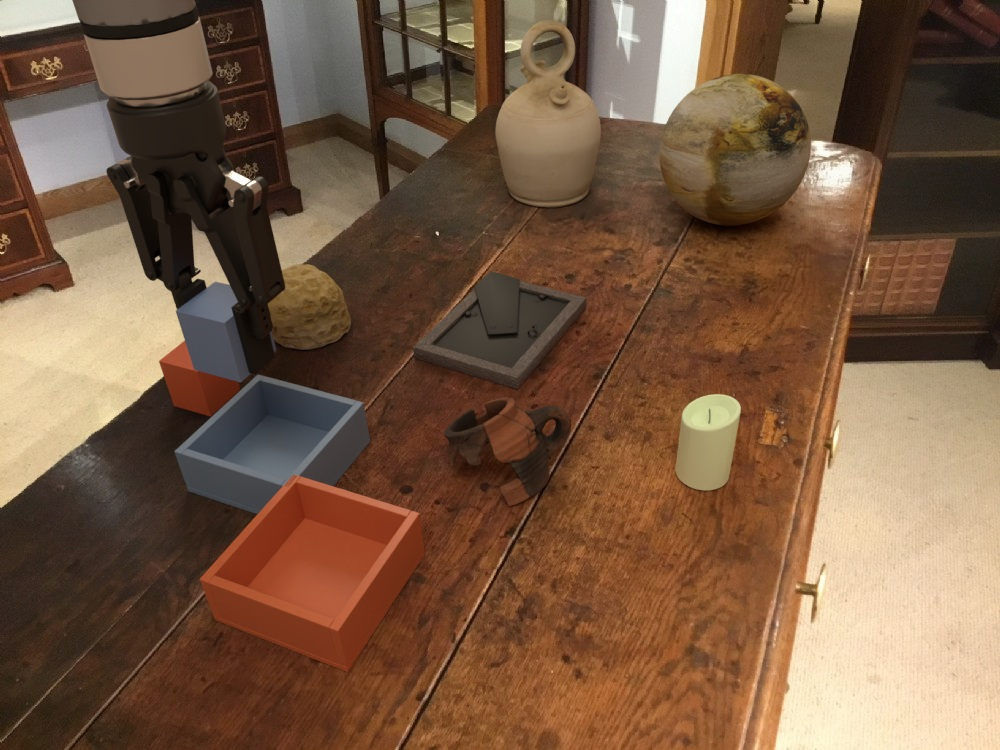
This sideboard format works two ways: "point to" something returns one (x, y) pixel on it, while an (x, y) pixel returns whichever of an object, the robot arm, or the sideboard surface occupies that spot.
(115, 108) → the robot arm
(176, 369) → the rust block
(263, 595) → the rust bin
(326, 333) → the rock
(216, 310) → the slate block
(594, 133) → the jug
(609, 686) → the sideboard surface
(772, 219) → the sideboard surface
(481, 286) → the picture frame
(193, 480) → the slate bin
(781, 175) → the decorative sphere
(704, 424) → the candle
